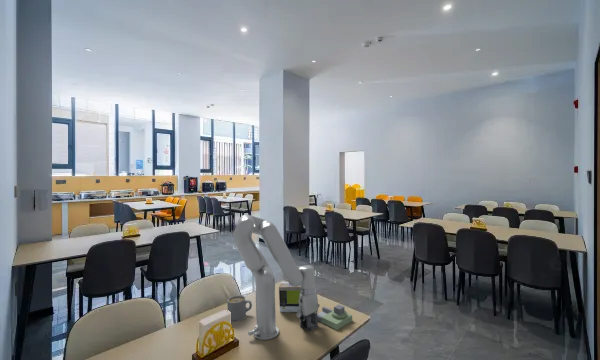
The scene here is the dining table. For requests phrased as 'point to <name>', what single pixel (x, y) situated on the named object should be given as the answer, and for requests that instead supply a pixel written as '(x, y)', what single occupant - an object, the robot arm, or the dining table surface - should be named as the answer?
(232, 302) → the coffee mug
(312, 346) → the dining table surface
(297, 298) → the tea box
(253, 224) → the robot arm
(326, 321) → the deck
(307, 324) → the chute
